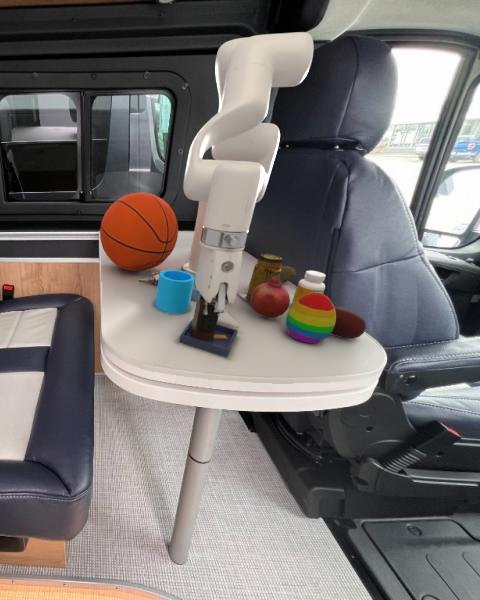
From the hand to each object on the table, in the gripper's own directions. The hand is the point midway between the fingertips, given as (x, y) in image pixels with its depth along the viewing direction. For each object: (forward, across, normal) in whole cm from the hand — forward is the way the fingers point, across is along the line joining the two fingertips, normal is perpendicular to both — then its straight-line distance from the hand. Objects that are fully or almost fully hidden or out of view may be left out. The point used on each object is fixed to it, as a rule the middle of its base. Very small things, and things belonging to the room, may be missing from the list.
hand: (203, 326), depth 65 cm
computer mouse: (+3, +30, +3) cm, 30 cm away
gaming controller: (+3, +8, -6) cm, 10 cm away
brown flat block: (+2, 0, -1) cm, 3 cm away
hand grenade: (-1, +37, -37) cm, 52 cm away
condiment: (+3, +21, -21) cm, 30 cm away
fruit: (+3, +12, -18) cm, 22 cm away
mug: (+3, +17, +2) cm, 18 cm away
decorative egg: (+3, +3, -22) cm, 23 cm away
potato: (-3, +6, -31) cm, 32 cm away
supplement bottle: (+3, +17, -30) cm, 35 cm away
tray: (+3, 0, -2) cm, 3 cm away
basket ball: (+3, +44, +12) cm, 46 cm away
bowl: (+3, +24, -8) cm, 25 cm away
